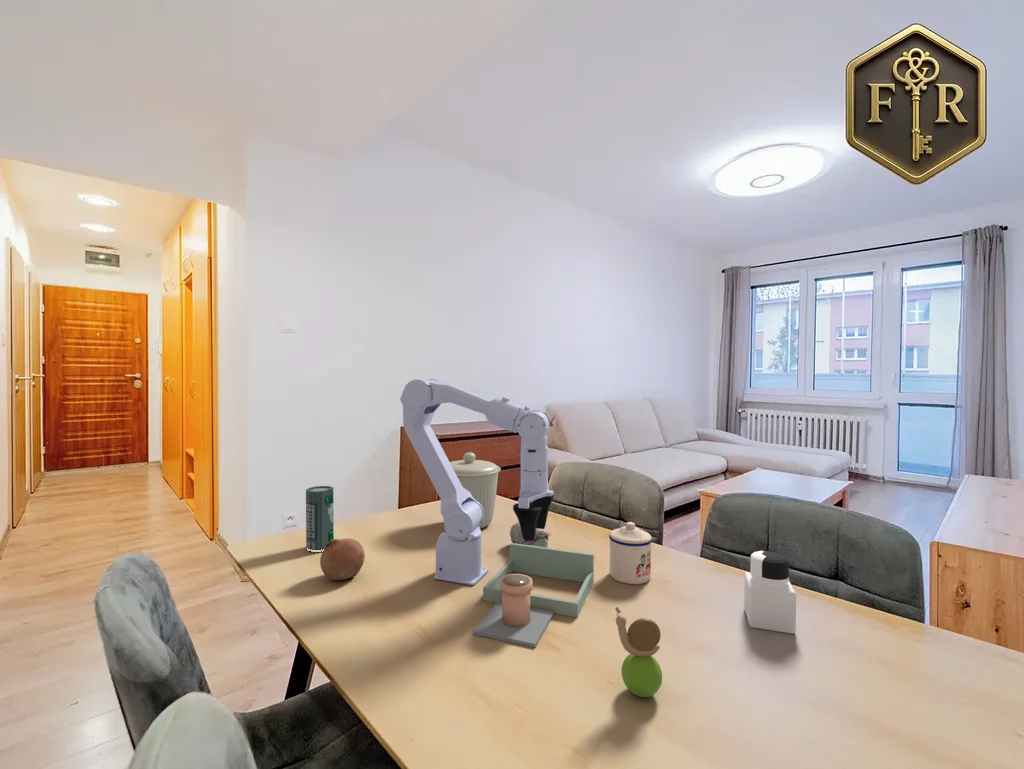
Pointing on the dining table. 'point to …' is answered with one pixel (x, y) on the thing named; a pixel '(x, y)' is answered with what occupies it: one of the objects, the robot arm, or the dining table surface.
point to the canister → (479, 482)
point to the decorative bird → (539, 540)
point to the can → (319, 517)
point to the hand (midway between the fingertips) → (534, 533)
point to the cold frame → (547, 575)
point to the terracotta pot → (516, 599)
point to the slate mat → (519, 635)
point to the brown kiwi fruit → (342, 559)
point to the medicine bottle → (770, 593)
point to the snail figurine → (640, 655)
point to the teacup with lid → (630, 554)
